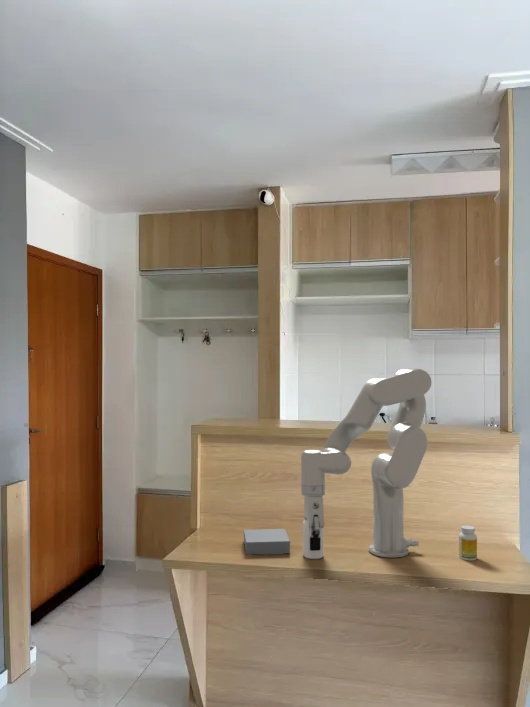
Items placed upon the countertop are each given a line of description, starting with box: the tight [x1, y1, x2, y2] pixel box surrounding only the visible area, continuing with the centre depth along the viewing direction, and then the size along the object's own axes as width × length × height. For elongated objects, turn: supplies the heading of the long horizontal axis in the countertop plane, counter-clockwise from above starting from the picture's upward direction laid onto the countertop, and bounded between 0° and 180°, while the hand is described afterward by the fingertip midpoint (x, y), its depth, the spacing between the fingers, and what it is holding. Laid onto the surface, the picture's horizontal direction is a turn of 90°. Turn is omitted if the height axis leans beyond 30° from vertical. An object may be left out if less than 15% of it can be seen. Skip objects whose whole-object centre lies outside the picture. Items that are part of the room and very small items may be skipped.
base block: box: [243, 528, 291, 556], centre depth 191 cm, size 14×14×4 cm
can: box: [302, 517, 324, 560], centre depth 182 cm, size 6×6×12 cm
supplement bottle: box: [458, 525, 478, 562], centre depth 181 cm, size 5×5×10 cm
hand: (313, 546), depth 182 cm, fingers closed on can, 6 cm apart
